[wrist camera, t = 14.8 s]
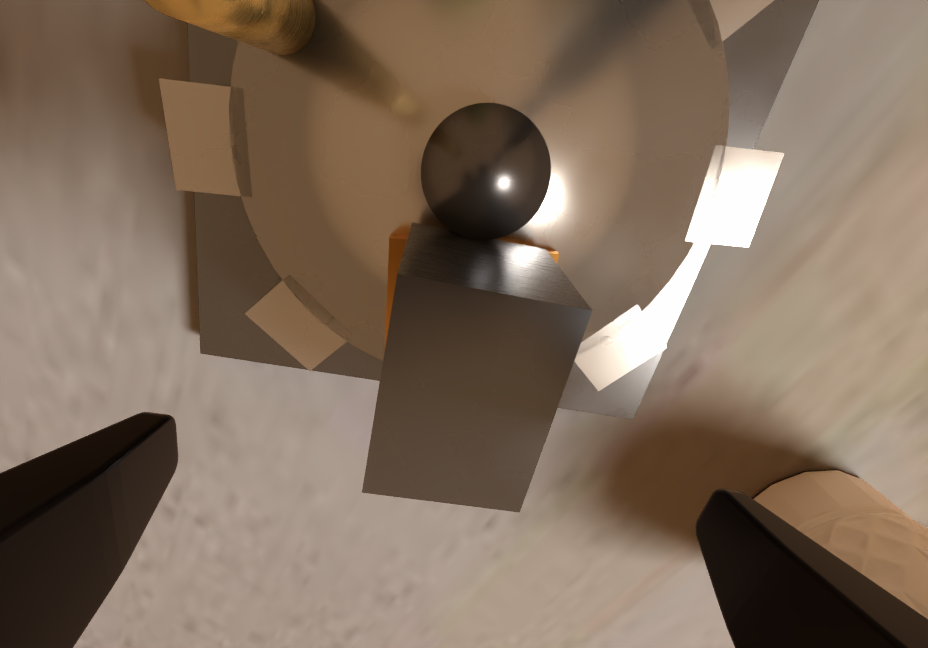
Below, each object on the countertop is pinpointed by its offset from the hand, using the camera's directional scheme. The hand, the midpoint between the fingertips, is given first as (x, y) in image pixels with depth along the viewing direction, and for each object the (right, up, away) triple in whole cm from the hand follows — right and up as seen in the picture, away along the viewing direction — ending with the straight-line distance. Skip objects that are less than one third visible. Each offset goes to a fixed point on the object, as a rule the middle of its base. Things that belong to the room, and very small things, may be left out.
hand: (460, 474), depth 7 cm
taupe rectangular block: (0, +2, +5) cm, 6 cm away
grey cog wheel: (0, +7, +5) cm, 9 cm away
